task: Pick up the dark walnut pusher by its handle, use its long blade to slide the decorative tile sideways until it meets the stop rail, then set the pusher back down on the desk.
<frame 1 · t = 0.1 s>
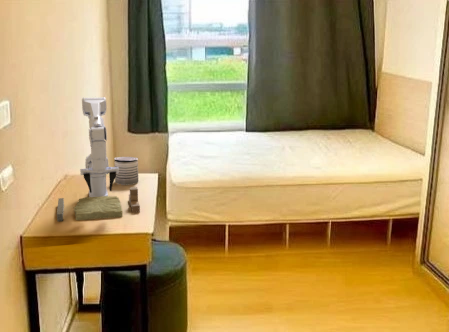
hand: (100, 191, 219), 10 cm above the table, tool pointing down, fingers open, 7 cm apart
can: (127, 182, 268), on the table
walnut pusher: (134, 206, 233), on the table
decorative tile: (97, 212, 228), on the table
stop rail: (60, 212, 224), on the table
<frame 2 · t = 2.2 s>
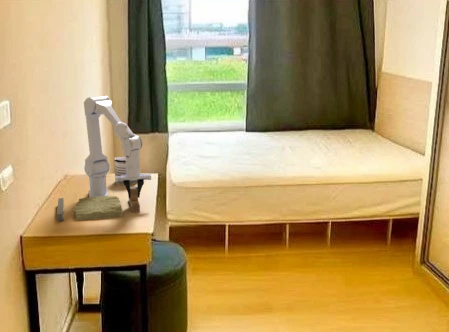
hand: (133, 197, 232), 4 cm above the table, tool pointing down, fingers closed on walnut pusher, 3 cm apart
walnut pusher: (134, 206, 233), on the table, touching gripper
everything else where it was.
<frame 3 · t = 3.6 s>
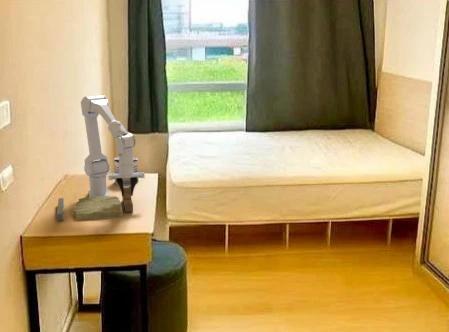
hand: (127, 195, 231), 5 cm above the table, tool pointing down, fingers closed on walnut pusher, 3 cm apart
walnut pusher: (127, 205, 232), point 1 cm above the table, touching gripper
everything else where it was.
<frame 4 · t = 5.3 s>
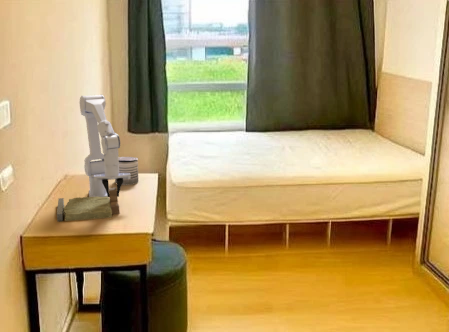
hand: (113, 196, 230), 5 cm above the table, tool pointing down, fingers closed on walnut pusher, 3 cm apart
walnut pusher: (114, 207, 231), on the table, touching decorative tile, gripper
decorative tile: (87, 212, 227), on the table, touching walnut pusher
everything else where it was.
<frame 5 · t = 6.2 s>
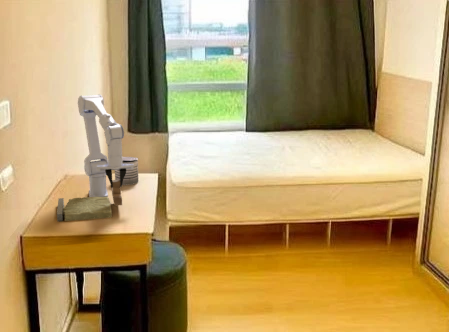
hand: (116, 186, 229), 9 cm above the table, tool pointing down, fingers closed on walnut pusher, 3 cm apart
walnut pusher: (117, 199, 230), point 3 cm above the table, touching gripper
decorative tile: (87, 212, 227), on the table
everything else where it was.
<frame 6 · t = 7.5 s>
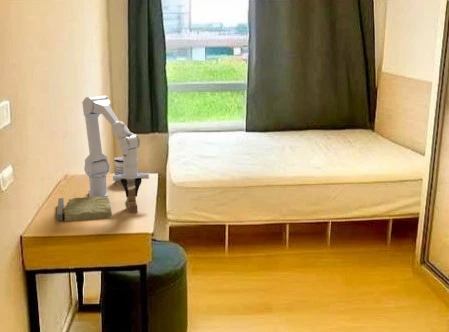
hand: (131, 196, 231), 4 cm above the table, tool pointing down, fingers closed on walnut pusher, 3 cm apart
walnut pusher: (132, 207, 232), on the table, touching gripper
everything else where it was.
when the fingers open (4 cm above the table, at t = 7.7 s): walnut pusher stays where it is, on the table.
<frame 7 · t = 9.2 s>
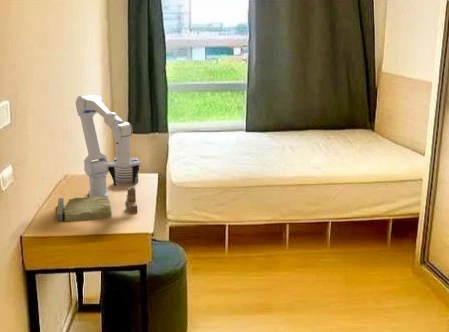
hand: (124, 184, 231), 9 cm above the table, tool pointing down, fingers open, 7 cm apart
walnut pusher: (132, 207, 232), on the table
everything else where it was.
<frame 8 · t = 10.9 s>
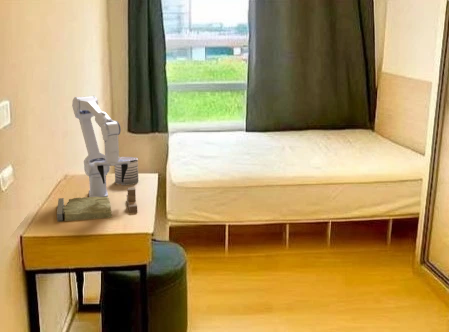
hand: (113, 182, 233), 9 cm above the table, tool pointing down, fingers open, 7 cm apart
nothing on the table moved.
at the end: decorative tile inside the target area (0.4 cm from its centre), on the table; the gripper is holding nothing; walnut pusher tilted 0° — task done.
